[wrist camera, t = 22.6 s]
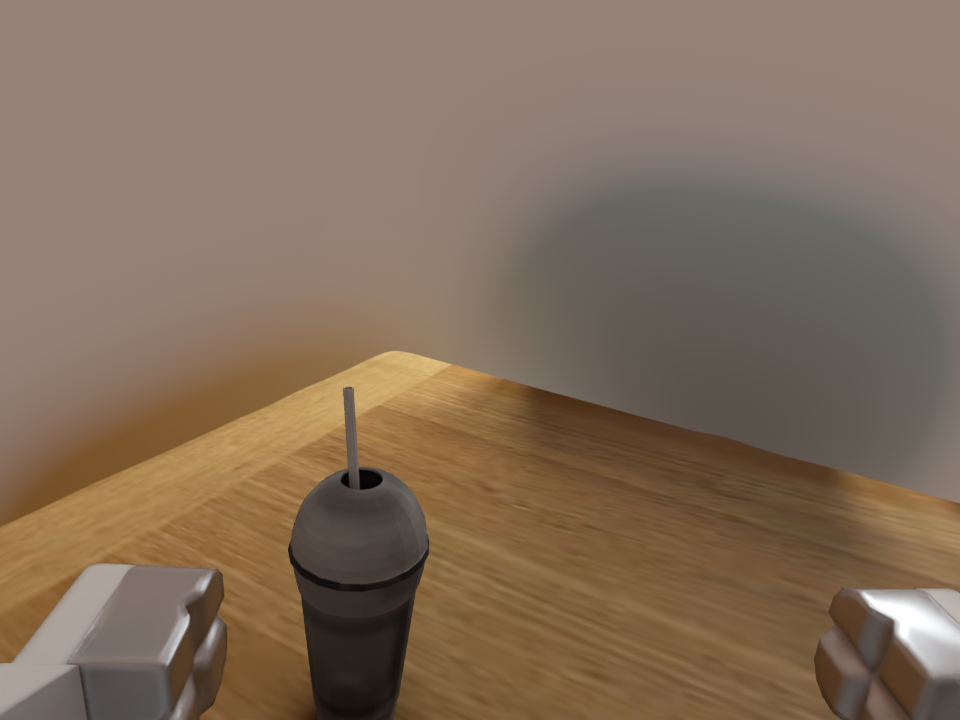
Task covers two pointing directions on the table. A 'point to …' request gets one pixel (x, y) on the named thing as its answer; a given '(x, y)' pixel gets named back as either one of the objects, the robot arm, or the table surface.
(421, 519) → the beverage cup
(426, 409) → the table surface
